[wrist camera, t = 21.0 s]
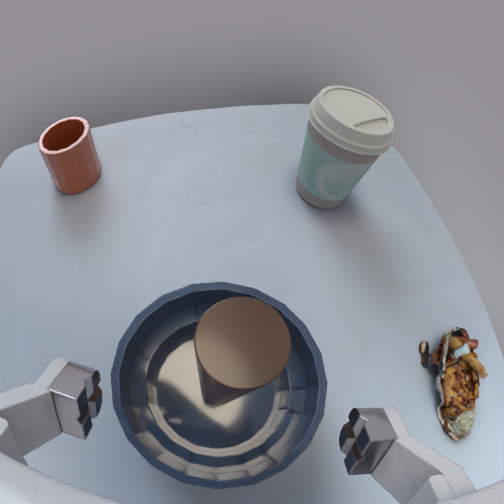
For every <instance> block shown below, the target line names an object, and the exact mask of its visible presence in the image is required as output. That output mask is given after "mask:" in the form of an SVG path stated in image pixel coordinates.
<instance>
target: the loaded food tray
mask: <svg viewBox="0 0 504 504" xmlns="http://www.w3.org/2000/svg"><path fill="white" fill-rule="evenodd" d="M477 346H478V340H475V339H469V336H468V333H467V331H466V330H465V329H463V328H459V327H456V329H452V330H451V331H447V332H446V335H444V336H443V338H442V340H441V344H439V346H438V347H437V349H435V352H434V354H430V353H429V351H428V350H429V345H428V343H427V342H426V341H423V342H421V344H420V347H419V350H420V353H421V354H422V361H421V363H422V365H423V366H425V367H427V366H430V365H432V364H434V363H436V364H437V366H438V368H439V370H438V374H437V378H436V389H437V391H438V392H439V394H440V398H441V403H440V405H438V408H436V410H437V412H438V413H437V415H438V419H440V420H441V422H442V425H443V424H444V430H445V432H446V434H449V435H450V436H451V437H452V439H454V440H456V441H458V440H460V439H462V438H463V437H465V436H467V435H468V434H469V433H470V431H471V427H472V425H473V421H474V409H475V400H476V399H477V398H478V397H479V395H478V394H479V391H478V387H479V375H480V377H481V378H482V379H485V378H486V375H487V376H488V374H487V373H486V371H485V368H484V367H483V366H482V365H481V364H480V363H479V361H478V359H476V358H477V357H478V356H477V354H476V353H474V352H473V349H476V348H477ZM478 373H479V375H478Z"/></svg>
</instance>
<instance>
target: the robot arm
mask: <svg viewBox="0 0 504 504" xmlns="http://www.w3.org/2000/svg"><path fill="white" fill-rule="evenodd" d="M99 382H100V373H99V371H98V370H95V369H92V368H89V367H86V366H83V365H80V364H77V363H74V362H70V361H67V360H65V359H62V358H59V357H57V358H55V359H54V360H53V361H52V362H51V363H50V364H49V366H48V367H47V368H46V369H45V370H44V372H43V373H42V374H41V375H40V376H39V378H38V379H37V380H36V381H35V383H34V384H31V383H28V384H25V385H22V386H19V387H16V388H13V389H10V390H7V391H3V392H0V504H126V503H122V502H119V501H115V500H112V499H109V498H106V497H102V496H99V495H96V494H93V493H91V492H88V491H85V490H82V489H79V488H77V487H74V486H71V485H69V484H66V483H64V482H61V481H59V480H57V479H54V478H52V477H50V476H47V475H45V474H43V473H41V472H39V471H36V470H34V469H32V468H30V467H29V466H28V465H27V463H26V461H25V459H24V457H23V456H24V455H26V454H27V453H29V452H31V451H33V450H34V449H36V448H38V447H39V446H41V445H43V444H45V443H46V442H48V441H50V440H51V439H53V438H55V437H56V436H58V435H60V434H61V433H62V432H64V433H67V434H69V435H72V436H75V437H78V438H81V439H85V440H86V438H87V436H88V434H89V432H90V430H91V428H92V421H91V419H93V418H95V417H97V416H98V414H99V411H100V408H101V404H102V390H101V389H100V388H99V386H98V384H99ZM348 417H349V420H350V421H349V422H348V423H346V424H345V425H343V428H342V430H341V432H340V437H339V445H340V449H341V451H342V452H343V453H344V454H346V455H347V456H346V458H345V459H344V463H345V466H346V469H347V472H348V475H359V474H371V476H372V477H373V478H374V479H375V480H376V481H377V482H378V483H379V484H380V485H382V486H383V487H384V488H385V489H386V490H387V491H388V492H389V493H390V494H391V495H392V496H393V497H394V498H395V499H396V500H397V501H398V502H399V503H400V504H504V479H503V480H501V481H499V482H496V483H494V484H491V485H489V486H486V487H484V488H481V489H479V490H475V488H474V487H473V485H472V483H471V481H470V480H469V478H468V476H467V474H466V473H465V471H464V469H463V467H461V466H459V465H458V464H456V463H454V462H453V461H451V460H450V459H448V458H446V457H445V456H443V455H442V454H440V453H438V452H437V451H435V450H434V449H432V448H431V447H429V446H427V445H426V444H424V443H423V442H421V441H420V440H418V439H417V438H411V436H410V434H409V432H408V430H407V428H406V426H405V424H404V423H403V421H402V419H401V417H400V415H399V413H398V412H397V410H396V409H395V408H394V407H381V408H353V409H352V410H351V412H350V414H349V416H348Z"/></svg>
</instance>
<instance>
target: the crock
mask: <svg viewBox="0 0 504 504" xmlns="http://www.w3.org/2000/svg"><path fill="white" fill-rule="evenodd" d="M38 145H39V150H40V152H41V154H42V157H43V159H44V161H45V163H46V166H47V168H48V170H49V172H50V174H51V177H52V179H53V181H54V183H55V185H56V187H57V188H58V189H59V191H61V192H62V193H65V194H77V193H81V192H83V191H85V190H87V189H88V188H90V187H91V186H92V185H93V184H94V183H95V182H96V181H97V179H98V178H99V175H100V171H101V167H100V162H99V159H98V156H97V152H96V149H95V145H94V141H93V138H92V134H91V130H90V126H89V124H88V122H87V120H85V119H83V118H81V117H68V118H65V119H62V120H59V121H57V122H55V123H54V124H52V125H51V126H49V127H48V128H47V129H46V130H45V131H44V133H42V135H41V137H40V140H39V142H38Z"/></svg>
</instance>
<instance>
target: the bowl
mask: <svg viewBox="0 0 504 504" xmlns="http://www.w3.org/2000/svg"><path fill="white" fill-rule="evenodd" d="M233 297H250V298H254V299H257V300H260V301H262V302H264V303H266V304H268V305H270V306H271V307H272V308H274V309H275V310H276V311H277V312H278V313H279V314H280V315H281V317H282V318H283V320H284V321H285V323H286V325H287V327H288V330H289V333H290V338H291V352H290V357H289V360H288V362H287V365H286V367H285V368H284V370H283V371H282V372H281V374H280V375H279V376H278V377H277V378H276V379H275V380H273V381H272V382H270V383H269V384H267V385H265V386H263V387H261V388H259V389H257V390H255V391H253V392H251V393H248V394H246V395H244V396H242V397H240V398H238V399H235V400H233V401H231V402H229V403H226V404H224V405H221V406H215V405H211V404H209V403H208V402H207V401H205V399H204V398H203V396H202V393H201V388H200V382H199V375H198V369H197V363H196V356H195V349H194V336H195V331H196V327H197V325H198V323H199V321H200V319H201V317H202V316H203V315H204V313H205V312H206V311H207V310H208V309H209V308H211V307H212V306H213V305H215V304H216V303H218V302H220V301H222V300H225V299H228V298H233ZM111 386H112V399H113V407H114V410H115V412H116V415H117V417H118V419H119V422H120V424H121V426H122V429H123V431H124V433H125V435H126V437H127V439H128V440H129V442H130V443H131V444H132V445H133V446H134V447H135V448H136V449H137V451H138V452H139V453H140V454H141V455H142V456H143V457H144V458H145V459H146V460H147V461H148V462H149V463H150V464H151V465H152V466H154V467H155V468H157V469H159V470H161V471H162V472H164V473H166V474H168V475H169V476H171V477H173V478H175V479H177V480H179V481H181V482H183V483H187V484H192V485H197V486H202V487H208V488H214V489H226V488H234V487H241V486H248V485H253V484H256V483H258V482H260V481H263V480H265V479H267V478H269V477H271V476H273V475H275V474H277V473H279V472H281V471H283V470H284V469H286V468H287V467H288V466H289V465H290V464H291V463H292V462H293V461H294V460H295V459H296V458H297V457H298V456H299V455H300V454H301V453H302V452H303V451H304V450H305V449H306V448H307V447H308V446H309V444H310V442H311V440H312V438H313V436H314V434H315V432H316V430H317V428H318V426H319V424H320V422H321V420H322V418H323V415H324V407H325V399H326V391H327V380H326V375H325V370H324V365H323V360H322V355H321V352H320V350H319V348H318V347H317V345H316V343H315V341H314V339H313V338H312V336H311V334H310V332H309V330H308V329H307V327H306V325H305V324H304V323H303V322H302V321H301V320H300V319H299V318H298V317H297V316H296V315H295V314H294V313H293V312H292V311H291V310H290V309H289V308H288V307H286V306H285V305H284V304H283V303H281V302H280V301H278V300H276V299H274V298H272V297H270V296H268V295H266V294H264V293H263V292H261V291H259V290H257V289H254V288H250V287H246V286H241V285H236V284H231V283H227V282H214V283H201V284H191V285H188V286H186V287H183V288H180V289H178V290H175V291H172V292H170V293H167V294H165V295H162V296H161V297H159V298H158V299H157V300H156V301H154V302H153V303H152V304H151V305H149V306H148V307H147V308H145V309H144V310H143V311H142V312H140V313H139V314H138V315H137V316H136V317H135V319H134V320H133V322H132V323H131V325H130V326H129V328H128V329H127V331H126V332H125V334H124V335H123V337H122V338H121V340H120V342H119V344H118V348H117V352H116V355H115V359H114V363H113V367H112V371H111Z"/></svg>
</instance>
